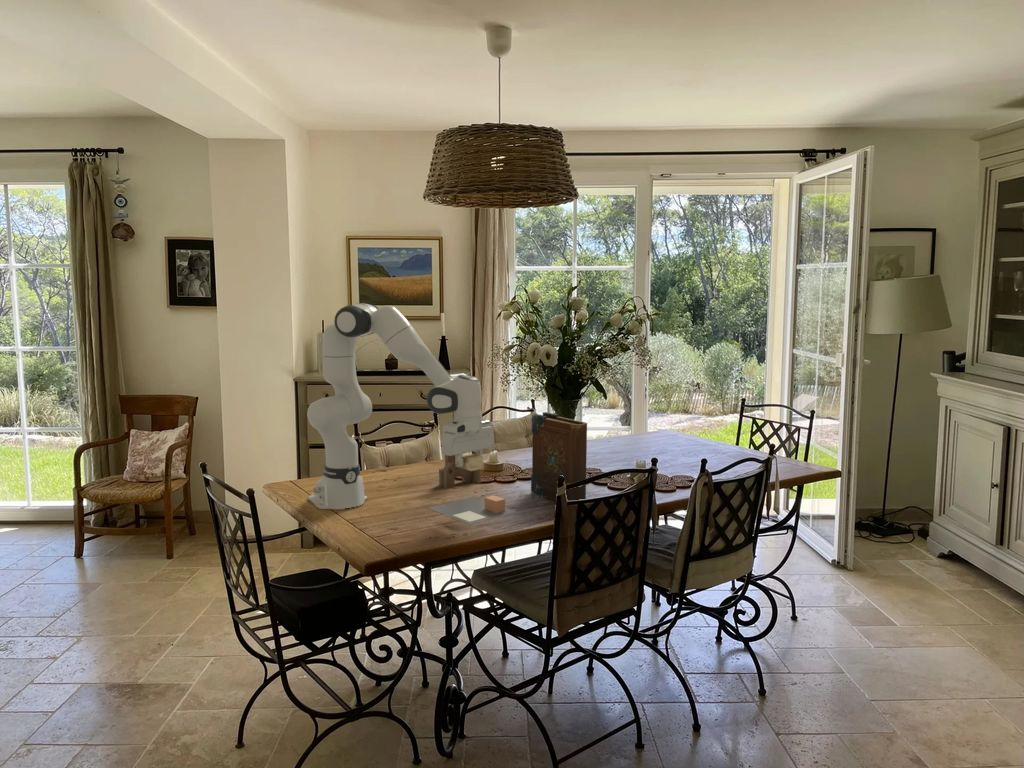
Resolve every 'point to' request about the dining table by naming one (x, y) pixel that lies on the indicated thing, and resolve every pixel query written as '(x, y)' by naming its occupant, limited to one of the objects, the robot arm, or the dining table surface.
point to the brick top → (495, 504)
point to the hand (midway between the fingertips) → (469, 464)
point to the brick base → (471, 462)
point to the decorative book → (558, 455)
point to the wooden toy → (456, 473)
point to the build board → (469, 510)
